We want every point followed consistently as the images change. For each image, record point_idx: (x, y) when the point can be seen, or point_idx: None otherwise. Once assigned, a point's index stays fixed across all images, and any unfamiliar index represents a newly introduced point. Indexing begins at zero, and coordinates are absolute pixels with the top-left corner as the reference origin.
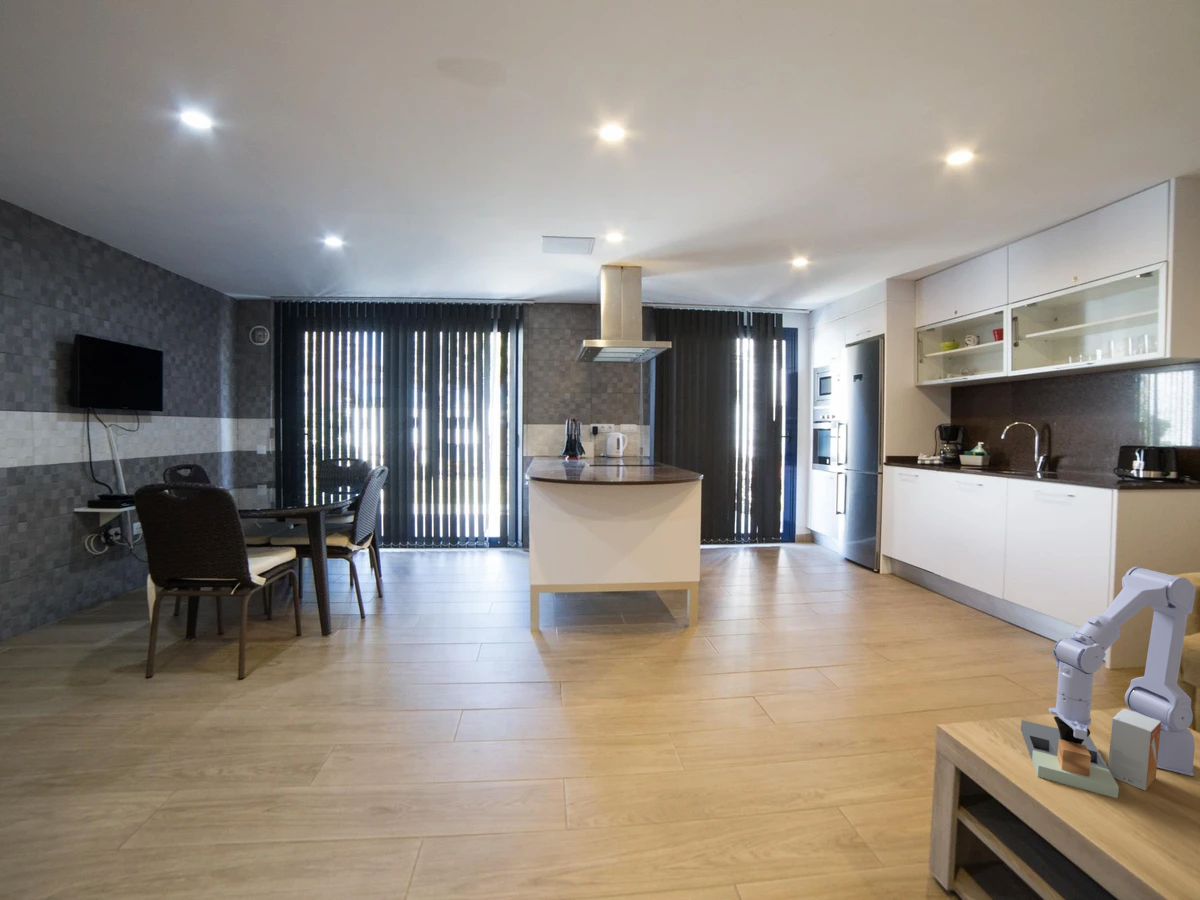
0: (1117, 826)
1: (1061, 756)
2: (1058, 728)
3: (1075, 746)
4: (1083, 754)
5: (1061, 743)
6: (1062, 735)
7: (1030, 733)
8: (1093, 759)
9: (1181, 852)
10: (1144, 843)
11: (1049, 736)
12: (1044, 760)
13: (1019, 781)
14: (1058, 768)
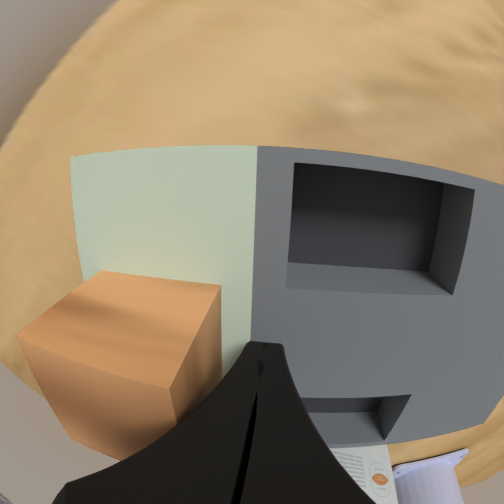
0: (20, 320)
1: (88, 304)
2: (312, 470)
3: (120, 435)
4: (59, 417)
5: (83, 368)
6: (154, 444)
7: (495, 207)
8: (380, 409)
9: (37, 388)
10: (12, 342)
11: (486, 305)
12: (141, 197)
13: (52, 91)
14: (99, 255)
